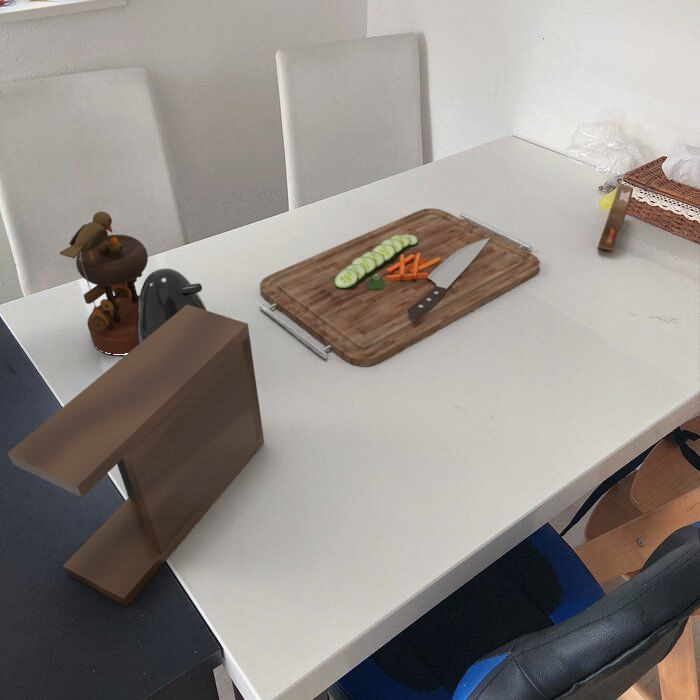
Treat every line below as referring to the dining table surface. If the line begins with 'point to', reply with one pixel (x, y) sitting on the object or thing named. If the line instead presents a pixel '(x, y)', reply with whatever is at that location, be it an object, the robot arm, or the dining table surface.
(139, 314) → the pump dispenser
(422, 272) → the chopping board
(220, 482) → the cabinet frame
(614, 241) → the tin
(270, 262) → the dining table surface
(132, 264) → the music box
